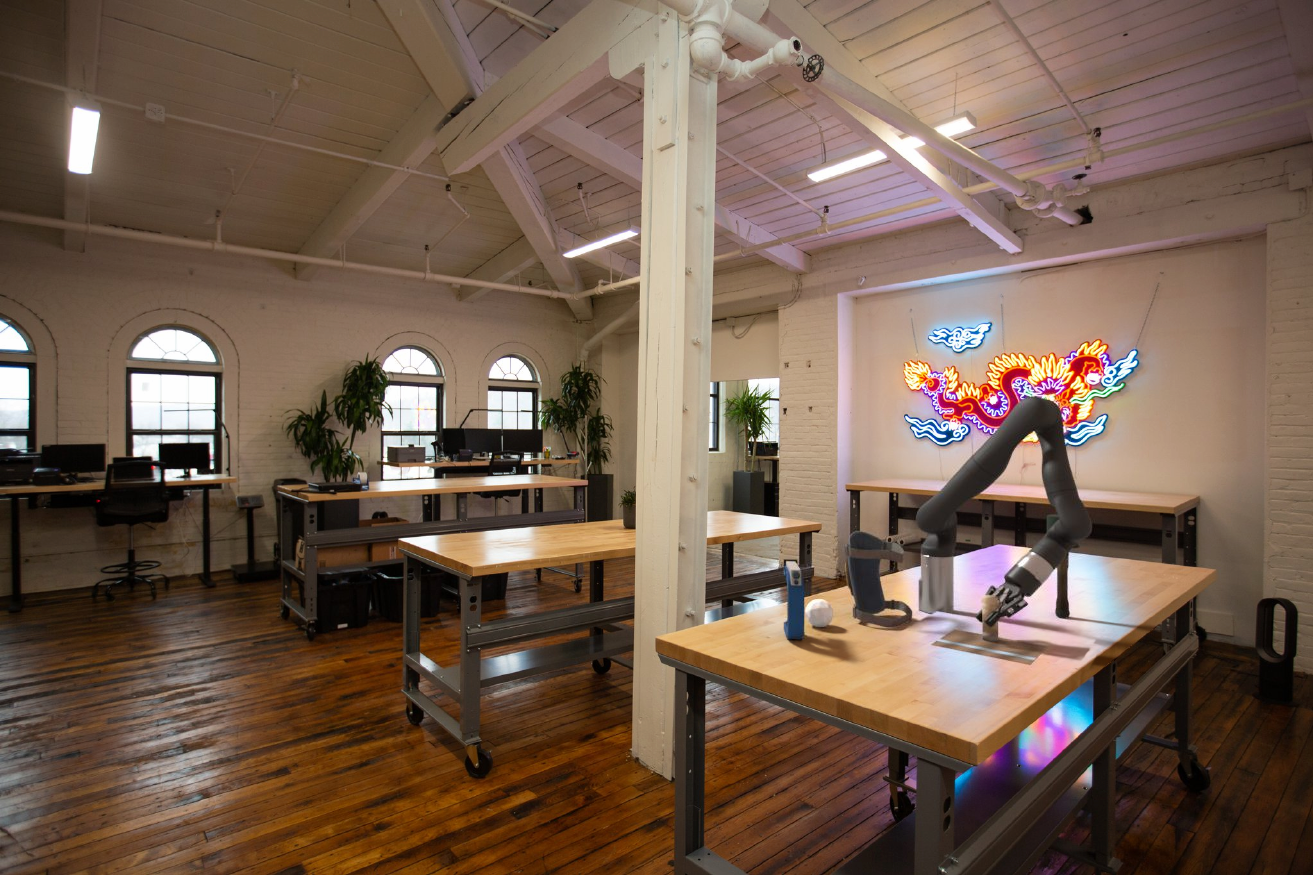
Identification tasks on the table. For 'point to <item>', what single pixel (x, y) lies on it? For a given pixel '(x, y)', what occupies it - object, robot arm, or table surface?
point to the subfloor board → (991, 646)
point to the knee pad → (872, 578)
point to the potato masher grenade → (1061, 578)
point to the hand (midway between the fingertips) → (982, 622)
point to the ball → (819, 613)
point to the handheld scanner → (794, 600)
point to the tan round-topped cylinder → (987, 608)
